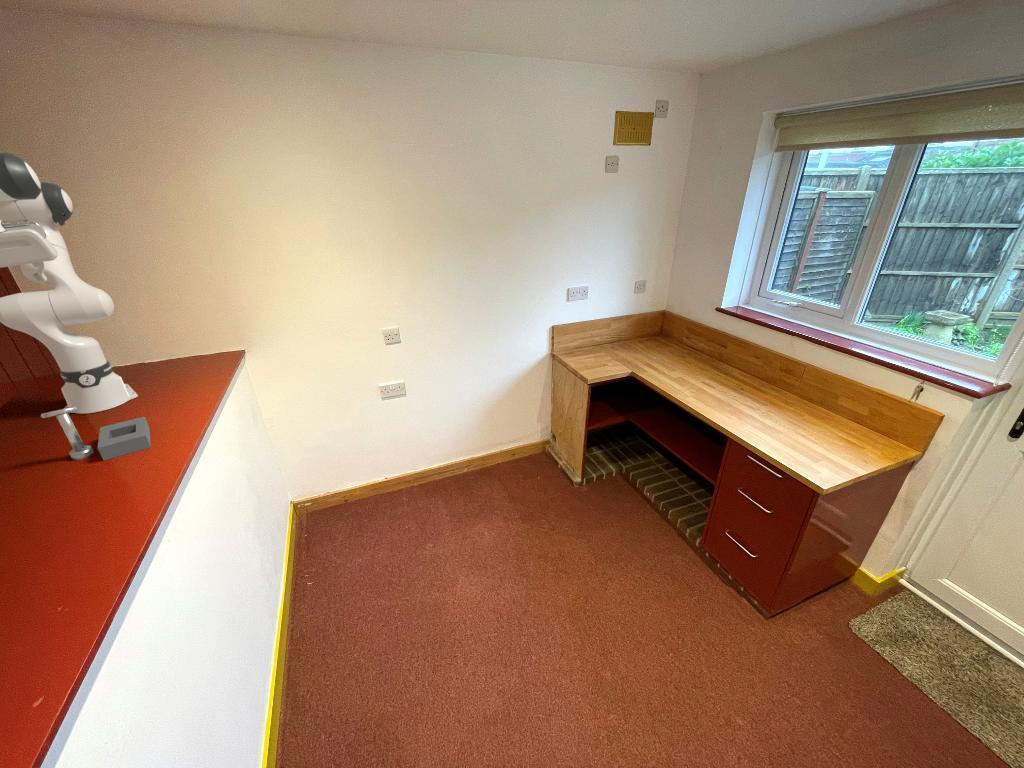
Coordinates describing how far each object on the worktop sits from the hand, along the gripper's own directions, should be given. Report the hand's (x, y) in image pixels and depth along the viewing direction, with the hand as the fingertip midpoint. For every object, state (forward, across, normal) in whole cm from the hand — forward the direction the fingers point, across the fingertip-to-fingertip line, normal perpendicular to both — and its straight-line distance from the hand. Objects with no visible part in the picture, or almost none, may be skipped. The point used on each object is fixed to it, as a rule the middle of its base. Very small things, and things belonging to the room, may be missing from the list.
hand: (16, 284), depth 101 cm
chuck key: (+44, +6, +13) cm, 46 cm away
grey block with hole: (+45, -3, +12) cm, 46 cm away
